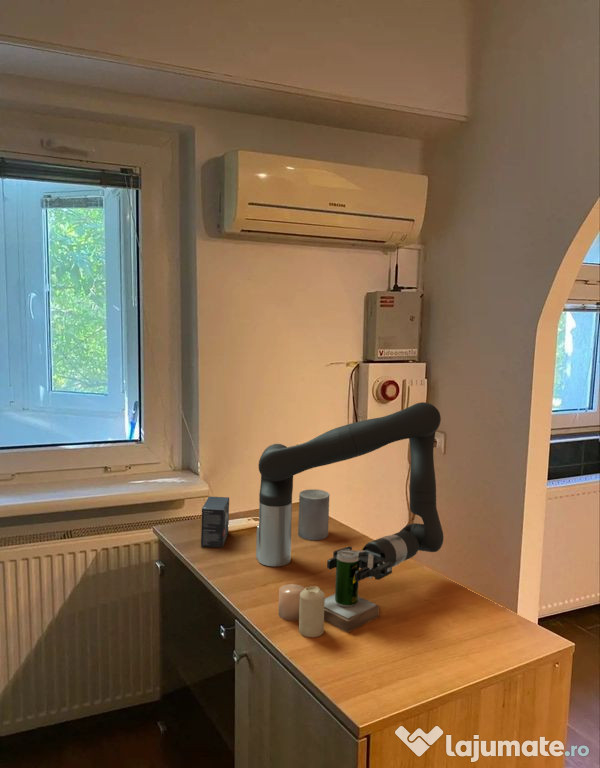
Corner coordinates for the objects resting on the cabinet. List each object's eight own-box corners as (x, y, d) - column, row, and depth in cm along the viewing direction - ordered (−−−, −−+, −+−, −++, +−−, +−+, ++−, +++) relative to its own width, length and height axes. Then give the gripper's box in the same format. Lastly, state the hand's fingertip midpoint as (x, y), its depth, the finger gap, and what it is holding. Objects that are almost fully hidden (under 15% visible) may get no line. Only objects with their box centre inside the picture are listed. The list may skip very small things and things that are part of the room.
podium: (312, 614, 144) (312, 602, 143) (343, 600, 151) (344, 588, 151) (347, 632, 136) (348, 619, 136) (378, 616, 144) (379, 604, 143)
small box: (223, 548, 183) (223, 509, 182) (200, 547, 183) (200, 508, 182) (229, 532, 196) (229, 496, 195) (207, 532, 196) (208, 495, 195)
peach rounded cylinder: (273, 613, 144) (273, 589, 143) (291, 605, 148) (292, 581, 147) (290, 623, 139) (291, 598, 139) (309, 614, 144) (310, 590, 143)
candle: (315, 640, 132) (316, 596, 131) (294, 632, 135) (295, 589, 134) (328, 629, 137) (329, 586, 136) (307, 622, 140) (308, 580, 139)
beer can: (332, 606, 142) (334, 556, 140) (337, 596, 147) (339, 548, 145) (354, 610, 140) (357, 559, 139) (359, 600, 145) (362, 551, 144)
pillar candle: (296, 529, 200) (297, 485, 198) (326, 529, 201) (327, 485, 199) (299, 541, 190) (300, 494, 189) (330, 540, 191) (332, 494, 190)
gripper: (363, 530, 157) (319, 546, 146) (409, 546, 147) (366, 564, 135) (362, 558, 158) (318, 576, 146) (408, 576, 148) (365, 596, 136)
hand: (341, 570), depth 141 cm, fingers open, 8 cm apart
